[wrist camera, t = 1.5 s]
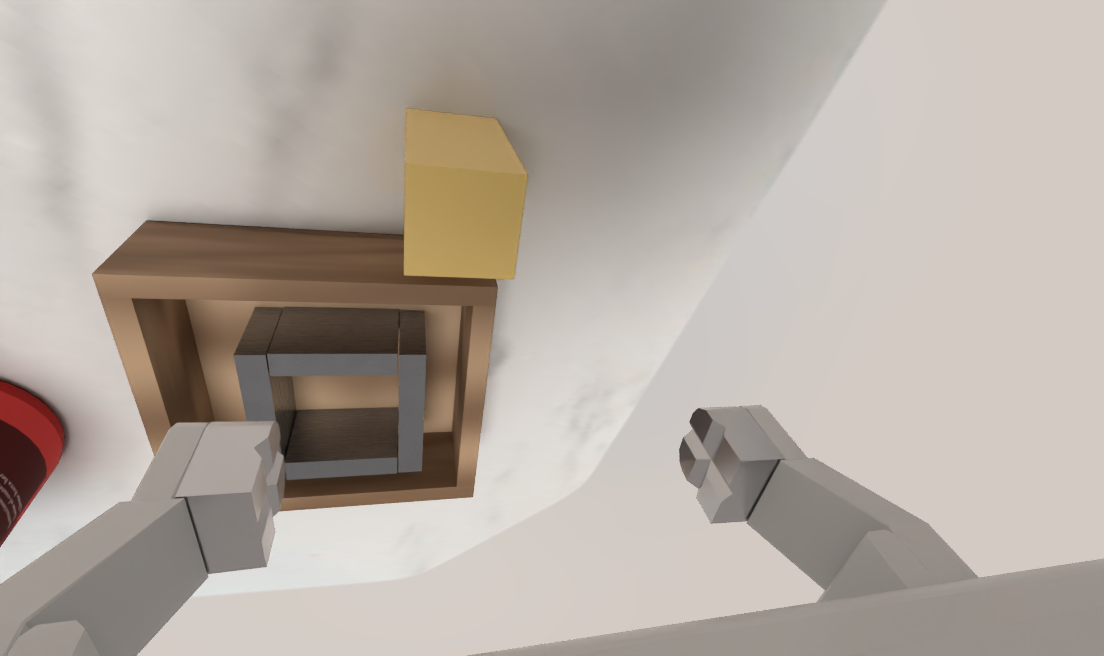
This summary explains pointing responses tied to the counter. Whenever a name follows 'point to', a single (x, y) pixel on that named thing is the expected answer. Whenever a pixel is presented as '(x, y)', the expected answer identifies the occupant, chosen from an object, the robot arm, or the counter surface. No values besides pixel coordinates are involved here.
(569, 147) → the counter surface
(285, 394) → the socket
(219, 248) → the walled box
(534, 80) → the counter surface
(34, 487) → the canned food
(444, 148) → the plug
